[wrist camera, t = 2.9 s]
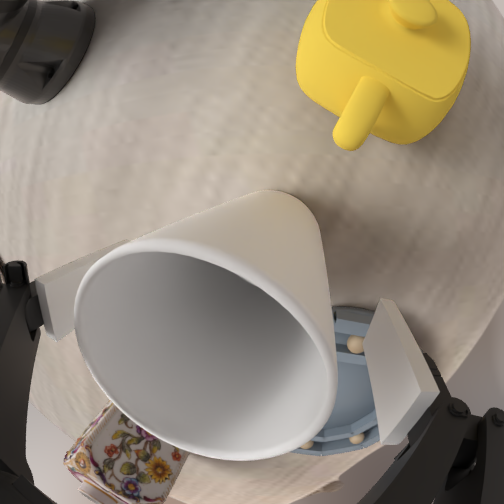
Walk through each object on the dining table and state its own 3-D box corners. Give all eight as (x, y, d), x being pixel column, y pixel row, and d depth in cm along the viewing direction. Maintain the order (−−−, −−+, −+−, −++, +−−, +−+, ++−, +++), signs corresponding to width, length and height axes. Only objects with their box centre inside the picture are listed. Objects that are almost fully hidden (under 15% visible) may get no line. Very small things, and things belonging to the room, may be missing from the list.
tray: (249, 284, 23) (242, 297, 21) (450, 323, 20) (460, 337, 18) (225, 421, 29) (220, 436, 27) (372, 444, 26) (373, 458, 24)
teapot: (346, -21, 13) (353, -96, 3) (453, 36, 12) (508, -11, 2) (264, 126, 19) (221, 85, 9) (391, 194, 19) (461, 217, 8)
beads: (259, 307, 22) (254, 318, 20) (439, 340, 20) (446, 351, 18) (234, 425, 28) (230, 436, 26) (368, 445, 25) (369, 456, 23)
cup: (316, 185, 20) (342, 224, 5) (323, 287, 22) (327, 467, 7) (213, 196, 22) (44, 252, 6) (227, 290, 24) (126, 435, 9)
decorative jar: (164, 442, 35) (118, 520, 18) (109, 398, 34) (49, 470, 17) (204, 428, 31) (154, 532, 14) (137, 374, 30) (59, 471, 13)
